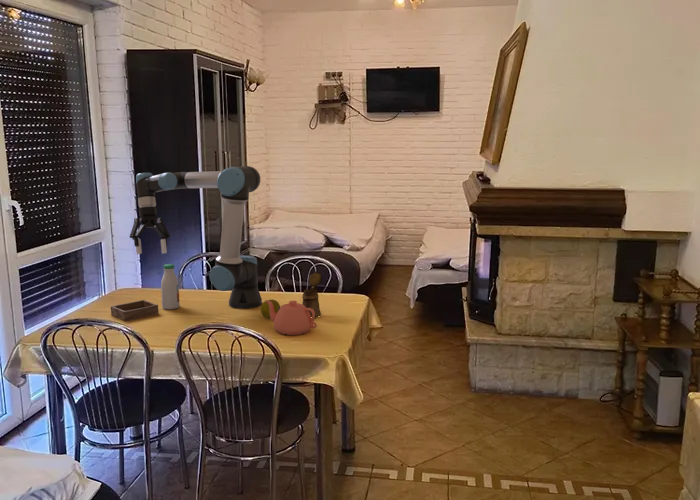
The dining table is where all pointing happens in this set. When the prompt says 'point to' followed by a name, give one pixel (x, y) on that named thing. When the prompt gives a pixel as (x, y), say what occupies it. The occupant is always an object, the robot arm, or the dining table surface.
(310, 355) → the dining table surface
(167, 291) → the milk bottle
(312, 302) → the dark brown tall piece
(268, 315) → the lemon
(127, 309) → the tray
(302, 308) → the teapot
